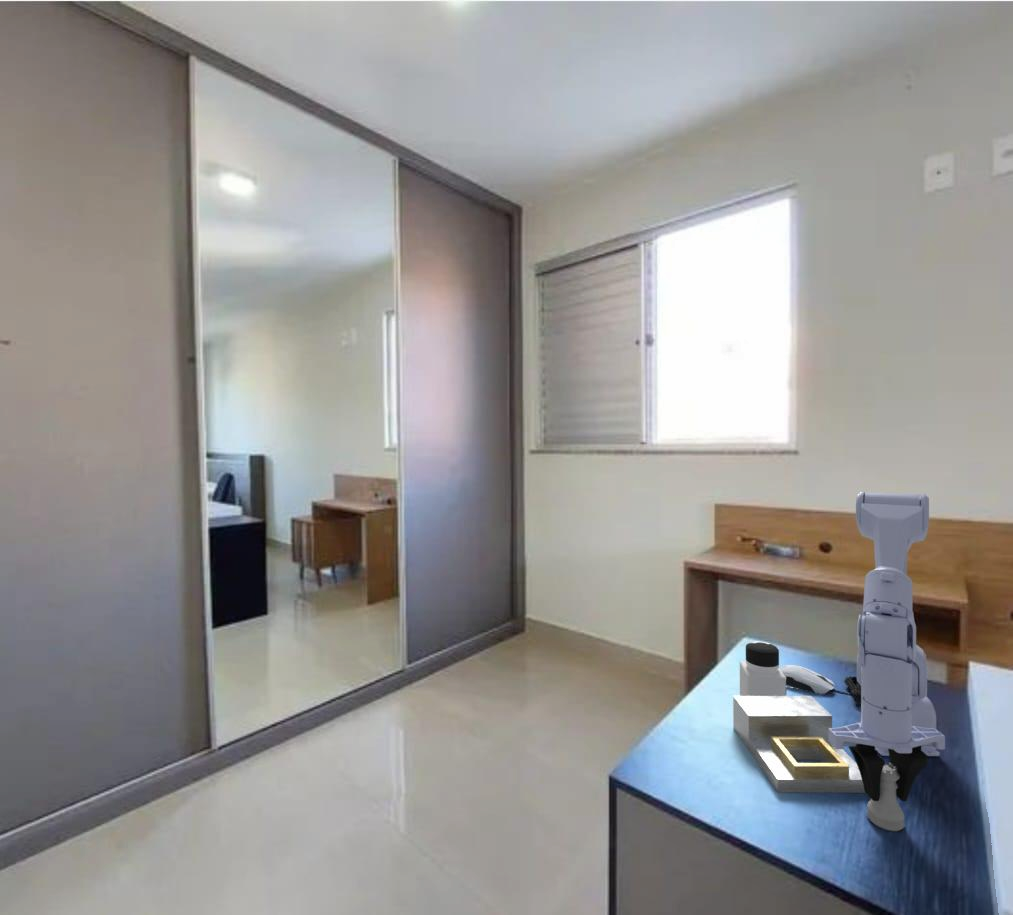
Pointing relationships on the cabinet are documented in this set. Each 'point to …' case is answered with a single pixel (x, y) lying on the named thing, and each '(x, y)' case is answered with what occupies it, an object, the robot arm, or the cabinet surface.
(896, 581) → the robot arm
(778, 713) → the white stepped block
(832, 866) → the cabinet surface
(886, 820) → the rook chess piece
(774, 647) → the medicine bottle
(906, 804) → the cabinet surface
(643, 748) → the cabinet surface
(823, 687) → the computer mouse
